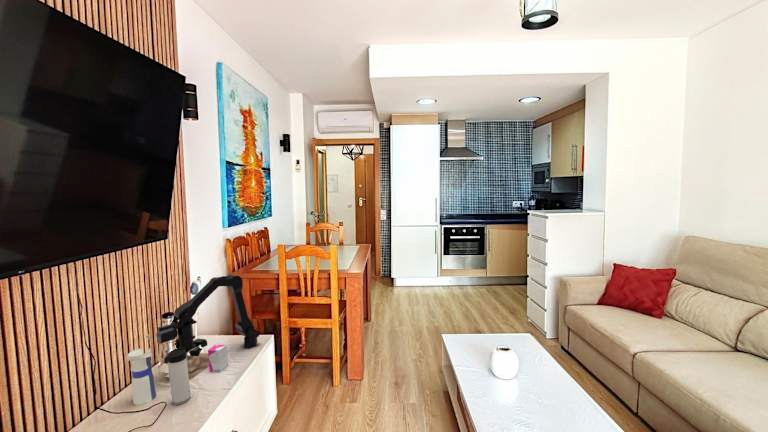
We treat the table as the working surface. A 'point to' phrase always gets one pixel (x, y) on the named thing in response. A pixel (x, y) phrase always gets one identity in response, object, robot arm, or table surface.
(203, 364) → the walnut board
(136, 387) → the water bottle
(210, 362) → the supplement box
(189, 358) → the sanding block
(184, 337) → the robot arm
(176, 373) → the travel mug
